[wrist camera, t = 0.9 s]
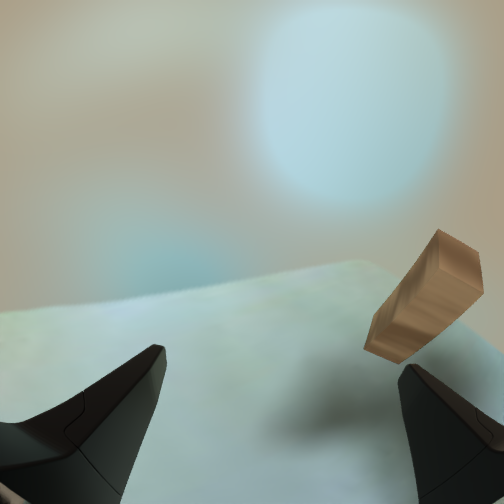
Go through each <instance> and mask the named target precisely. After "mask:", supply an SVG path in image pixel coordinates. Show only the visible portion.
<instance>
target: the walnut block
mask: <svg viewBox="0 0 504 504" xmlns="http://www.w3.org/2000/svg"><path fill="white" fill-rule="evenodd" d="M483 294H484V290H483V281H482V272H481V266H480V259H479V253H478V252H477V251H476V250H474V249H472V248H471V247H469V246H467V245H465V244H464V243H462V242H461V241H459V240H457V239H455V238H454V237H452V236H450V235H448V234H447V233H445V232H443V231H441V230H439V229H438V230H437V231H436V233H435V234H434V236H433V238H432V239H431V240H430V242H429V243H428V245H427V246H426V248H425V249H424V251H423V252H422V254H421V255H420V256H419V258H418V259H417V261H416V262H415V263H414V265H413V266H412V268H411V269H410V270H409V272H408V273H407V274H406V276H405V277H404V278H403V280H402V281H401V282H400V283H399V285H398V286H397V287H396V289H395V290H394V291H393V292H392V294H391V295H390V296H389V297H388V299H387V300H386V301H385V302H384V303H383V305H382V306H381V307H380V308H379V309H378V311H377V312H376V313H375V314H374V316H373V320H372V323H371V326H370V330H369V333H368V336H367V340H366V343H365V346H364V350H366V351H369V352H371V353H373V354H376V355H378V356H380V357H383V358H385V359H387V360H390V361H392V362H394V363H397V364H400V363H401V362H403V361H404V360H406V359H407V358H408V357H410V356H411V355H413V354H414V353H415V352H417V351H418V350H419V349H421V348H422V347H423V346H425V345H426V344H427V343H429V342H430V341H431V340H432V339H434V338H435V337H436V336H437V335H439V334H440V333H441V332H442V331H443V330H445V329H446V328H447V327H448V326H449V325H451V324H452V323H453V322H454V321H455V320H456V319H457V318H459V317H460V316H461V315H462V314H463V313H464V312H465V311H466V310H467V309H468V308H469V307H470V306H471V305H472V304H474V302H476V301H477V300H478V299H479V298H480V297H481V296H482V295H483Z"/></svg>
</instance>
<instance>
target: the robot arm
mask: <svg viewBox="0 0 504 504" xmlns="http://www.w3.org/2000/svg"><path fill="white" fill-rule="evenodd" d="M166 367H167V360H166V350H165V347H164V346H161V345H156V344H153V345H151V346H150V347H148V348H147V349H145V350H144V351H142V352H141V353H139V354H138V355H136V356H135V357H133V358H132V359H130V360H129V361H127V362H126V363H124V364H123V365H121V366H120V367H118V368H117V369H115V370H114V371H112V372H111V373H109V374H108V375H106V376H105V377H103V378H101V379H100V380H98V381H97V382H95V383H94V384H92V385H91V386H89V387H88V388H86V389H85V390H84V392H83V391H81V392H80V393H78V394H77V395H75V396H74V397H72V398H70V399H69V400H67V401H65V402H63V403H62V404H60V405H58V406H56V407H54V408H52V409H50V410H48V411H45V412H43V413H41V414H39V415H37V416H35V417H33V418H30V419H28V420H26V421H23V422H19V423H5V422H0V504H120V501H121V499H122V495H123V493H124V490H125V487H126V484H127V481H128V479H129V476H130V473H131V470H132V468H133V465H134V462H135V460H136V457H137V454H138V452H139V449H140V446H141V444H142V441H143V439H144V436H145V433H146V431H147V428H148V426H149V423H150V421H151V418H152V416H153V413H154V411H155V408H156V405H157V402H158V398H159V394H160V390H161V387H162V383H163V379H164V375H165V372H166ZM398 389H399V395H400V401H401V408H402V415H403V419H404V424H405V428H406V432H407V437H408V441H409V446H410V451H411V456H412V461H413V466H414V472H415V478H416V484H417V491H418V499H419V504H504V426H503V425H501V424H500V423H498V422H496V421H495V420H493V419H492V418H490V417H489V416H487V415H486V414H484V413H483V412H482V411H480V410H479V409H478V408H476V407H475V406H473V405H472V404H471V403H469V402H468V401H467V400H465V399H464V398H463V397H461V396H460V395H459V394H457V393H456V392H454V391H453V390H452V389H450V388H449V387H448V386H446V385H445V384H444V383H442V382H441V381H439V380H438V379H437V378H435V377H434V376H433V375H431V374H430V373H429V372H427V371H426V370H424V369H423V368H422V367H420V366H419V365H418V364H408V365H406V367H405V368H404V370H403V372H402V374H401V375H400V377H399V379H398Z"/></svg>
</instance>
